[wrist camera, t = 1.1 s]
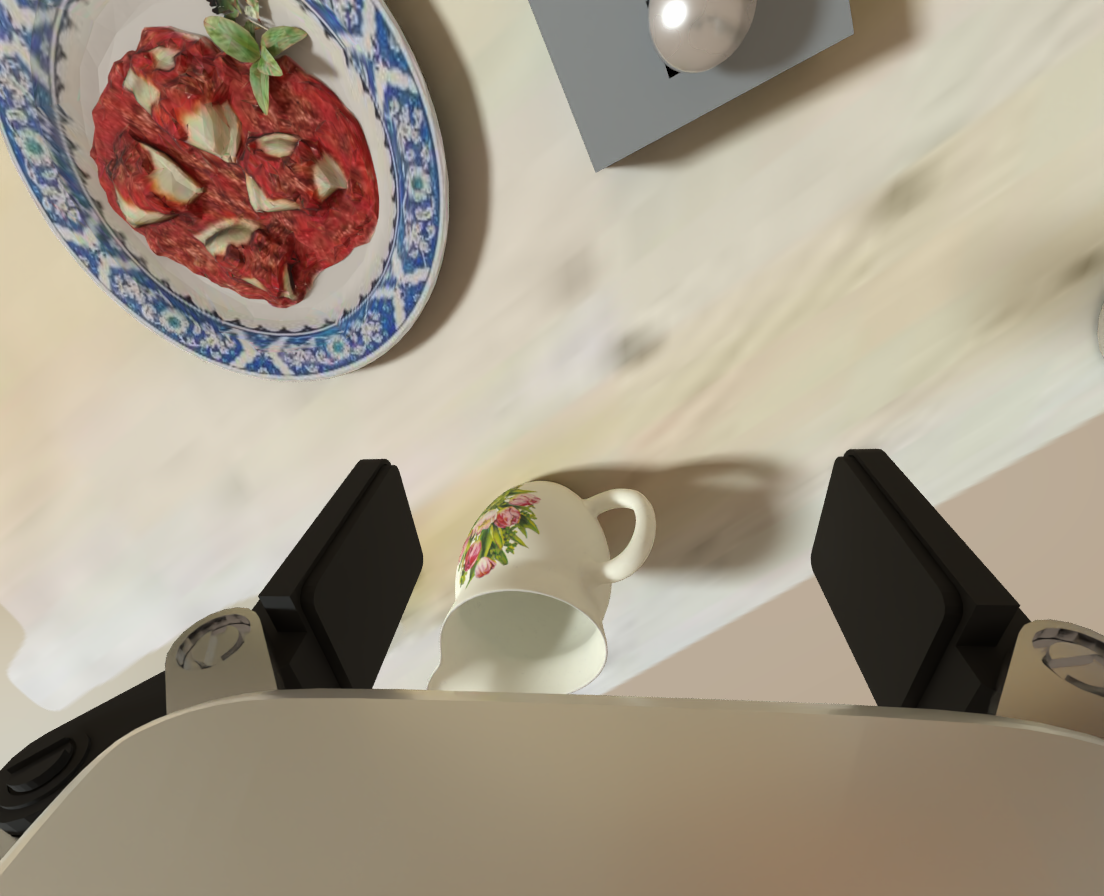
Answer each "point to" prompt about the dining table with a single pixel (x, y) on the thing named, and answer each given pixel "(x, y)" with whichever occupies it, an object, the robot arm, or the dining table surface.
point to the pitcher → (537, 591)
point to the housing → (641, 77)
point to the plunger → (698, 31)
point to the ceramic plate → (234, 170)
